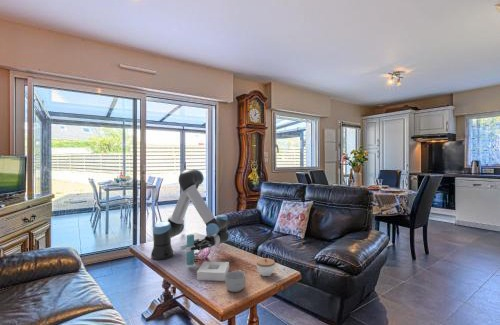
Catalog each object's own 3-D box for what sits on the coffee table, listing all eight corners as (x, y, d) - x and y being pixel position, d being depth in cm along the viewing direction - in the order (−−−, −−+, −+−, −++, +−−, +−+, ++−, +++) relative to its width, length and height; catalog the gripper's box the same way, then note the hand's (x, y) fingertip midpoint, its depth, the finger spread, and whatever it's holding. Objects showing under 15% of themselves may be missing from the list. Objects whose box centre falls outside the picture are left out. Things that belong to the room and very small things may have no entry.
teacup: (237, 296, 136) (237, 280, 136) (220, 291, 142) (220, 275, 142) (252, 285, 148) (252, 270, 148) (235, 280, 154) (235, 266, 154)
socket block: (204, 268, 171) (203, 261, 171) (229, 269, 169) (229, 262, 169) (196, 279, 155) (196, 272, 155) (224, 280, 154) (224, 272, 153)
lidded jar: (276, 277, 157) (276, 261, 157) (258, 279, 155) (258, 262, 155) (272, 270, 168) (272, 254, 168) (255, 271, 166) (255, 256, 166)
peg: (188, 262, 175) (188, 234, 175) (194, 262, 175) (194, 234, 174) (185, 264, 171) (185, 236, 170) (192, 265, 170) (192, 236, 170)
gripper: (220, 248, 181) (192, 258, 163) (203, 243, 192) (175, 252, 174) (220, 237, 180) (192, 246, 163) (203, 232, 192) (175, 240, 174)
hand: (183, 249), depth 168 cm, fingers closed on peg, 4 cm apart
